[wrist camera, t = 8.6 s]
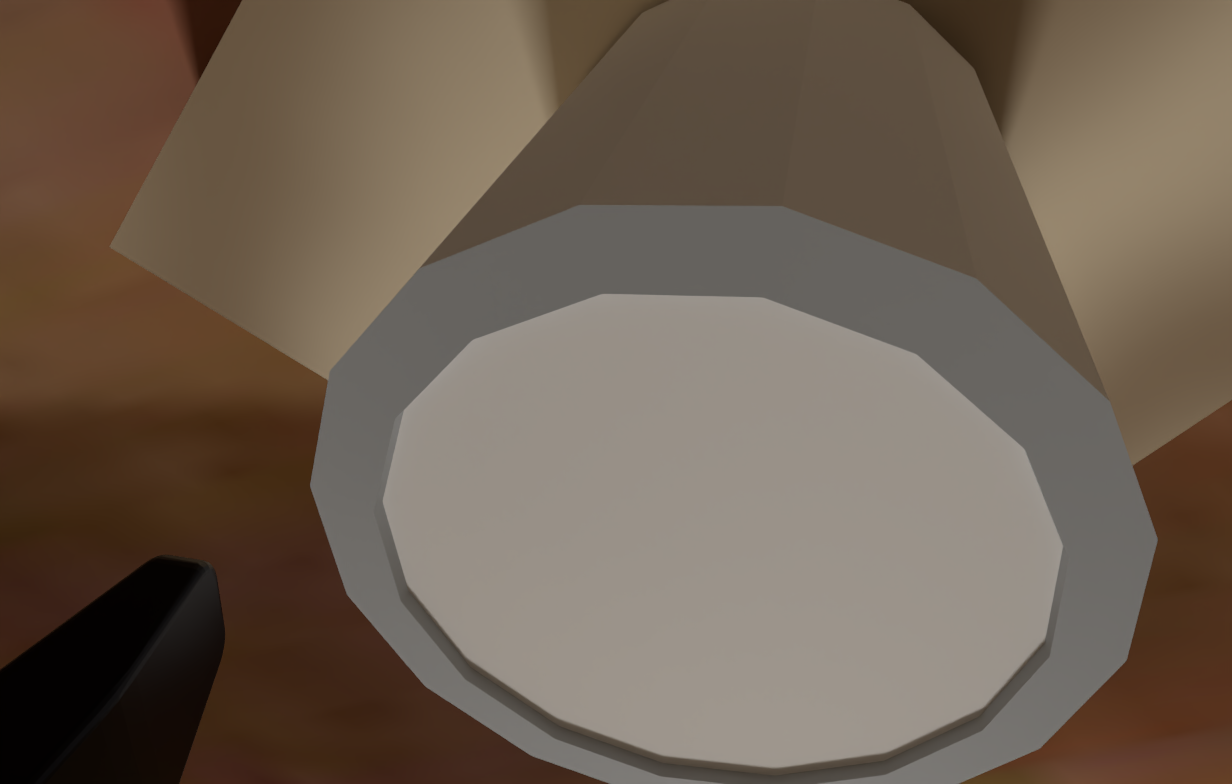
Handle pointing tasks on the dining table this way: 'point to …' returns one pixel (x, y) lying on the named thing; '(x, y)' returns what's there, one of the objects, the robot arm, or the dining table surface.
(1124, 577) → the white cup
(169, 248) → the birch block
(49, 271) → the dining table surface
